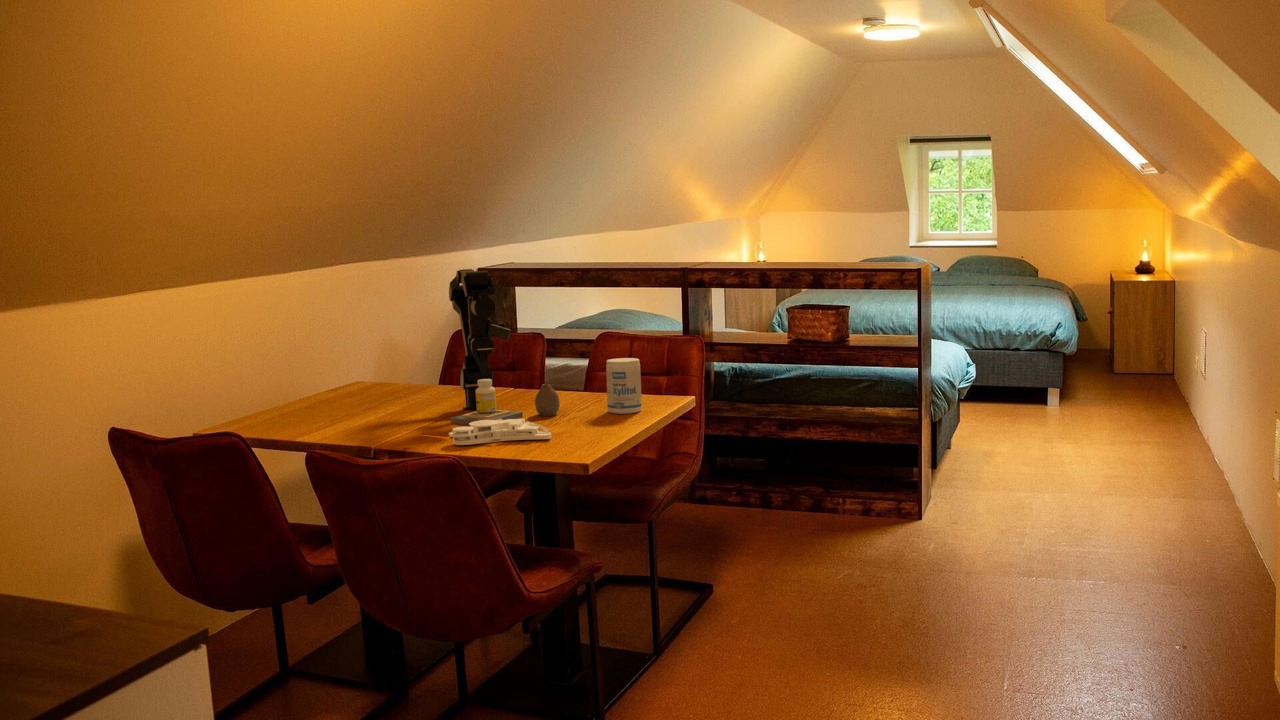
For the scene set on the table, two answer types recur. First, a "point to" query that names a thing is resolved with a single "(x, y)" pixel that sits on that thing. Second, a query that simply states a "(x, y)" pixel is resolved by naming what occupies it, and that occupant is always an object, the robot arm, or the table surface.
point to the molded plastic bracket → (498, 431)
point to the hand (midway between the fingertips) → (482, 371)
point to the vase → (547, 401)
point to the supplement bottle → (485, 398)
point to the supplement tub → (623, 385)
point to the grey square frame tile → (486, 417)
